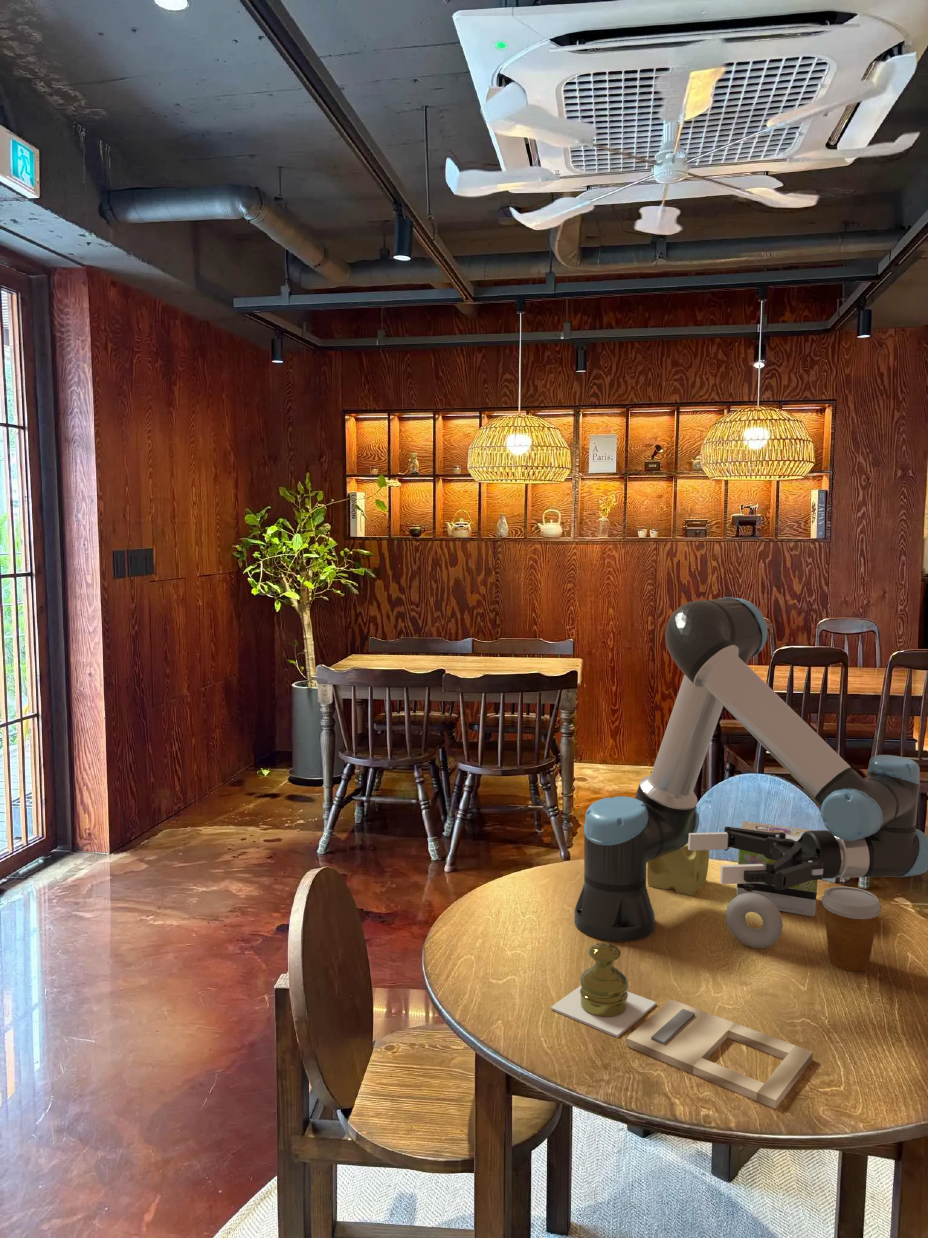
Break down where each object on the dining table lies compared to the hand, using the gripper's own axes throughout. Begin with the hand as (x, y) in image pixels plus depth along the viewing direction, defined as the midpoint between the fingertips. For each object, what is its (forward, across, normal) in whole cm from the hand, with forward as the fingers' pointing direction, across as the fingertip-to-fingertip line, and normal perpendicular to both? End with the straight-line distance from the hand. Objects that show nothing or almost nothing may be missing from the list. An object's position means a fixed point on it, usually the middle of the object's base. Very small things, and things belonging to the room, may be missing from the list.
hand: (704, 857), depth 140 cm
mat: (+16, -2, -23) cm, 28 cm away
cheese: (-12, +45, -24) cm, 52 cm away
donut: (-16, +15, -23) cm, 32 cm away
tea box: (-29, +33, -24) cm, 50 cm away
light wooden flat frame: (+3, -16, -23) cm, 28 cm away
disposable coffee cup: (-30, +8, -23) cm, 39 cm away
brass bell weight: (+16, -2, -23) cm, 28 cm away
